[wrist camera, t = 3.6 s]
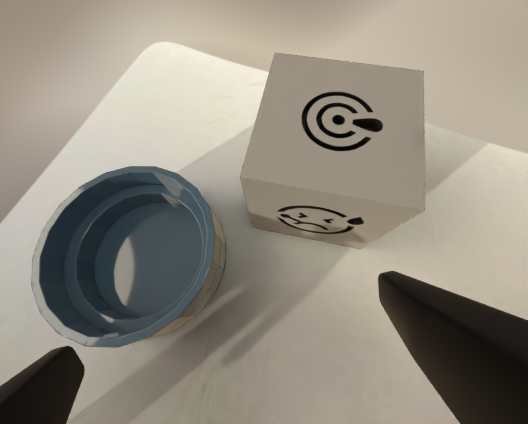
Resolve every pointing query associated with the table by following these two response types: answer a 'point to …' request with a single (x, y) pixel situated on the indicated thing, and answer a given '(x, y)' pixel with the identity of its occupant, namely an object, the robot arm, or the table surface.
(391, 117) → the icon cube
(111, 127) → the table surface
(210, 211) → the blue pet bowl
